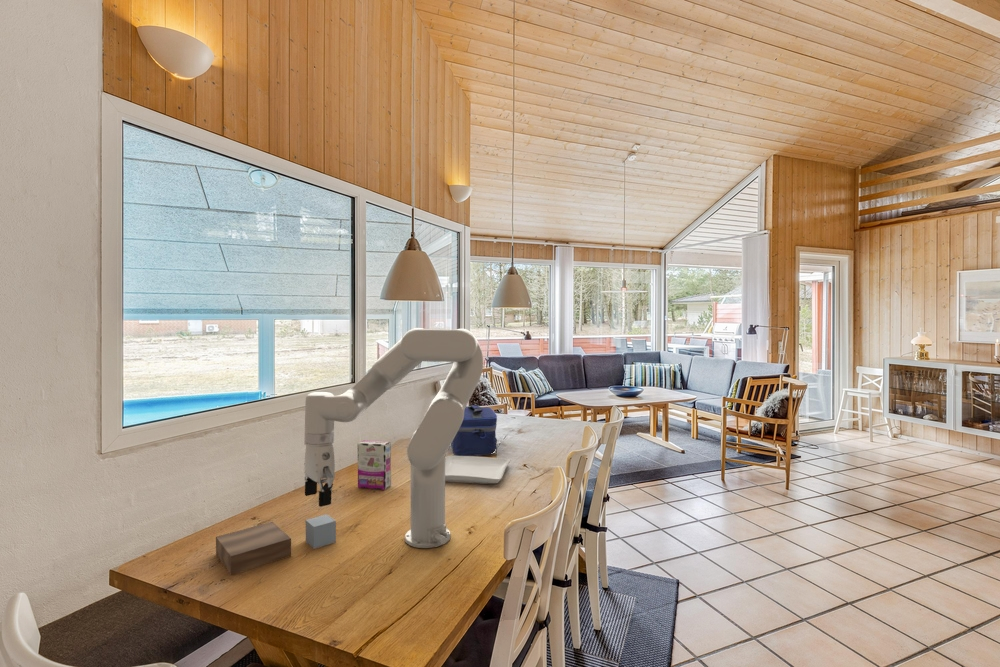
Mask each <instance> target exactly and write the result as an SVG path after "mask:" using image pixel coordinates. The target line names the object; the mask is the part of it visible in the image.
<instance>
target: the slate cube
mask: <svg viewBox="0 0 1000 667" xmlns="http://www.w3.org/2000/svg"><path fill="white" fill-rule="evenodd" d="M336 525H337V521H336V519H334V518H333V517H331V516H330V515H329V514H327V513H326V514H322V515H319V516H315V517H313V518H312V517H311V518H309V519H305V542H306V543H307V544H308V545H309V546H310V547H312V549H314V550H315V549H318V548H322V547H325V546H328V545H331V544H334V543H336V542H337V526H336Z"/></svg>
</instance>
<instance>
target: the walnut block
mask: <svg viewBox="0 0 1000 667" xmlns="http://www.w3.org/2000/svg"><path fill="white" fill-rule="evenodd" d="M215 555H216V556H217V557H218V559H219V561H220V562H221V563H222V564H223V566H224V567H225V568H226V570H227V571H228V573H229V574H230V576H234V575H236V574H240V573H243V572H246V571H248V570H252V569H255V568H258V567H261V566H264V565H265V566H266V565H268V564H270V563H274V562H276V561H280V560H283V559H286V558H290V557H292V538H291V537H290V536H289V535H288V534H287V533H286V532H285V531H283V529H281V528H280V527H279V526H278V525H277V524H276V523H274V521H270V522H266V523H262V524H258V525H254V526H251V527H247V528H244V529H240V530H236V531H233V532H232V531H231V532H230V533H224V534H222V535H221V534H220V535H217V536H215Z"/></svg>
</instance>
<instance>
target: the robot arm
mask: <svg viewBox="0 0 1000 667" xmlns="http://www.w3.org/2000/svg"><path fill="white" fill-rule="evenodd" d="M422 362H427V363H428V362H431V363H433V362H434V363H435V362H437V363H439V362H440V363H446V362H447V363H452V366H451V369H450V370H449V372H448V374H447V376H446V378H445V381H444V382H443V384H442V386H441V387H440V388H439V391H438V393H437V394H436V396H435V397H434V398H433V399H432V400H431V402H430V405H429V407H428V409H427V411H426V412H425V414H424V416H423V418H422V420H421V421H420V424H419V425H418V427H417V428H416V429H415V430H414V431H413V434H412V435H411V437H410V439H409V442H408V445H407V449H406V456H407V459H408V461H409V463H410V529H409V530H408V531H407V532H405V535H404V541H405V543H406V544H408V545H409V546H411V547H413V548H419V549H433V548H436V547H437V548H439V547H441V546H443V545H445V544H446V543H448V542H449V541H450V539H451V531H450V530H449V529H448V528H447V524H446V481H445V458H446V453H447V452H448V450H449V448H450V446H452V444H451V443H452V441H453V439H454V437H455V436H456V434H457V432H458V430H459V428H460V426H461V424H462V422H463V418H464V410H465V407H467V405H468V403H469V402H470V400H471V397H472V396H473V393H474V391H475V389H476V388H477V386H478V383H479V382H480V379H481V377H482V373H483V370H484V354H483V349H482V348H481V345H480V343H479V341H478V339H477V337H476V336H475V335H474V333H472V331H470V330H468V329H467V328H457V329H440V328H439V329H434V328H433V329H431V328H429V329H428V328H423V327H415V328H411V329H409V330H408V331H406V332H405V333H404V334H403V336H402V337H401V339H399V340H398V341H397V342H396V343H395V344H393V345H392V346H391V347H390V348H389V349H388V350H387V351H386V352H384V353H383V354H382V355H381V356H380V357H379V358H377V359H376V361H375V362H374V363H373V365H372V366H371V368H370V369H369V370H368V372H367V373H366V374H364V376H362V377H361V378H360V379H359V380H358V381H357V382H356V383H355V384H354V385H352V387H350V388H349V389H348V390H346V391H345V392H344V393H342V394H339V395H338V394H337V395H334V393H331V392H329V391H328V392H326V391H316V392H315V391H313V392H310V393H308V394H307V395H306V396H305V402H304V403H305V405H304V410H305V411H304V442H303V443H304V445H305V453H304V474H305V476H304V496H306V497H309V496H314V495H317V493H318V507H320V508H321V507H325V506H329V505H331V504H332V491H333V485H334V480H335V477H336V474H335V473H336V472H335V471H336V469H335V468H336V466H335V465H336V464H335V463H336V462H335V461H336V460H335V449H334V443H335V442H334V441H335V422H340V423H350V422H353V421H354V420H356V419H357V418H358V417H359V416H360V415H361V414H363V412H364V411H366V409H368V408H369V407H370V406H371V405H372V404H373V403H374V402H376V401H377V399H379V398H380V397H381V396H382V395H384V394H385V393H386V392H387V391H388V390H390V389H392V388H394V387H395V386H397V385H398V384H399V383H400V382H401V381H402V380H404V378H405V377H407V376H408V375H409V373H411V372H412V371H413V370H414V369H416V367H417V366H419V365H420V364H421V363H422ZM318 486H319V491H318Z"/></svg>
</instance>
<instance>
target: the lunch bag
mask: <svg viewBox="0 0 1000 667" xmlns="http://www.w3.org/2000/svg"><path fill="white" fill-rule="evenodd" d="M497 422H498V415H497V413H496V412H495V410H493V408H491V407H488V406H486V407H485V406H484V407H481V406H480V405H474V404H471V405H470V406H469V405H468V406H467V405H466V407H465V410H464V418H463V422H462V424H461V426H460V428H459V430H458V432H457V434H456V436H455V437H454V439H453V441H452V443H451V450H452V453H453V454H454V456H486V455H492V454H491V453H493V452H494V451H495V449H497V442H498V438H497V437H496V436H497V435H496V430H497Z"/></svg>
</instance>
